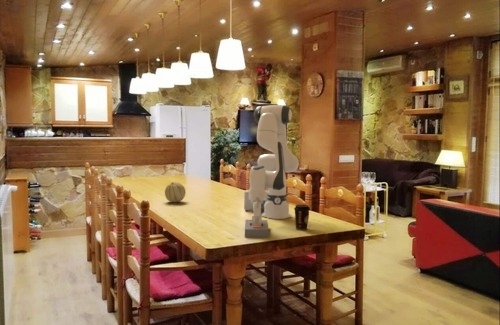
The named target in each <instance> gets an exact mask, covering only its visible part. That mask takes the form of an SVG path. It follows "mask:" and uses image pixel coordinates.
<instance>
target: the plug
mask: <svg viewBox="0 0 500 325" xmlns="http://www.w3.org/2000/svg"><path fill="white" fill-rule="evenodd" d="M251 220H252V226H261V222H262V220H263V219H262V214H261V217H259V223H258V224H256V223H255V217H254V214H253V213H252V214H251Z"/></svg>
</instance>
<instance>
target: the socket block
mask: <svg viewBox="0 0 500 325" xmlns="http://www.w3.org/2000/svg"><path fill="white" fill-rule="evenodd" d="M244 223H245V225H244V238H266V239H267V238H269V236H270V235H269V234H270V230H269V223H268V219H262V222H261V226H252V219H245V221H244Z"/></svg>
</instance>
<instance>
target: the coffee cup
mask: <svg viewBox="0 0 500 325" xmlns="http://www.w3.org/2000/svg"><path fill="white" fill-rule="evenodd" d="M293 210H294V220H295V229H296V230H298V231H306V230H307V229H308V224H309V218H310V217H309V216H310V210H311V208H310V206H309V205H307V204H296V205H295V207H294V209H293Z"/></svg>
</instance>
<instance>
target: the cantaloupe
mask: <svg viewBox="0 0 500 325" xmlns="http://www.w3.org/2000/svg"><path fill="white" fill-rule="evenodd" d="M164 196H165V198H166V200H167V201H168V202H170V203H180V202H182V201H183V200H184V198H185V197H186V188H185V186H184V185H183V184H182V183H180V182H175V181H174V182H171V183H169V184H167V186H166V187H165V189H164Z"/></svg>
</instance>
